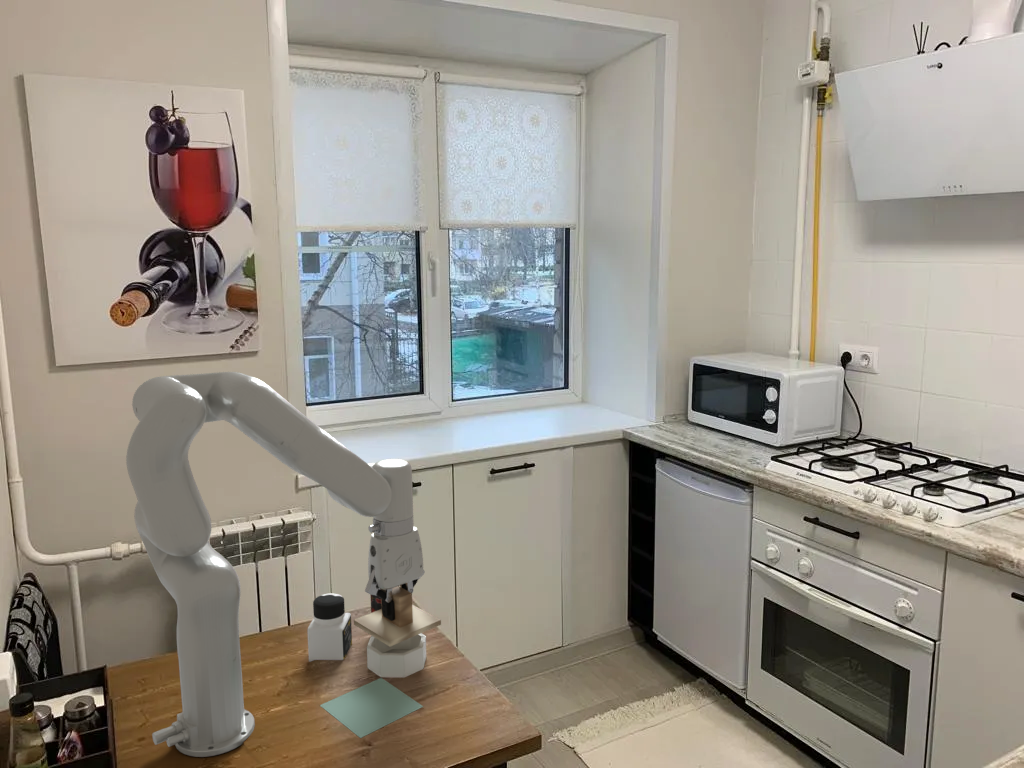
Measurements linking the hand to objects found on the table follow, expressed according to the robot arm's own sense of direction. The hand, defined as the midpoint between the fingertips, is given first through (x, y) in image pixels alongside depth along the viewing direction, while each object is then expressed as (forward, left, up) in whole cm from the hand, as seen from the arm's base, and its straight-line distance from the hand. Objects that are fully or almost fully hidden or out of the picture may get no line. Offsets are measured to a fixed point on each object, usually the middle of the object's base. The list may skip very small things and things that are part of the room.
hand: (396, 614), depth 151 cm
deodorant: (+5, +11, -11) cm, 16 cm away
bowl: (0, 0, -11) cm, 11 cm away
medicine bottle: (-7, +13, -11) cm, 18 cm away
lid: (0, 0, -2) cm, 2 cm away
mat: (-12, -9, -11) cm, 18 cm away
